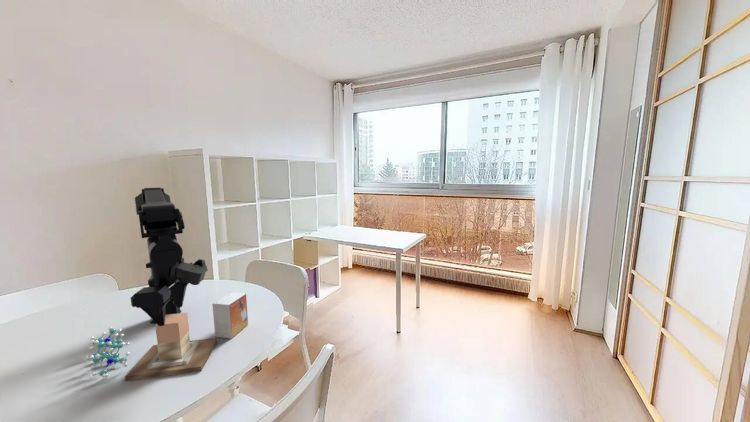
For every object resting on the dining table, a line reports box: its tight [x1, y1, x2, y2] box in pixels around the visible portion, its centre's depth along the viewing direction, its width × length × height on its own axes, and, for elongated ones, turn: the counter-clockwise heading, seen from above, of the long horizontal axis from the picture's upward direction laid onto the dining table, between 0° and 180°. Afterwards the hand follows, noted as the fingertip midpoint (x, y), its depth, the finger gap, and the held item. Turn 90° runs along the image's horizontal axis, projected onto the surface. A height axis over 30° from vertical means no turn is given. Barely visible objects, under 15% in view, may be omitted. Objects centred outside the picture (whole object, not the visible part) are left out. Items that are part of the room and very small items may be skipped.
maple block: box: [156, 330, 191, 362], centre depth 72 cm, size 5×5×5 cm
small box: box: [212, 292, 249, 339], centre depth 85 cm, size 8×6×10 cm
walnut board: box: [124, 337, 219, 382], centre depth 73 cm, size 16×12×2 cm
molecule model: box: [85, 326, 131, 378], centre depth 71 cm, size 8×18×7 cm, turn 46°
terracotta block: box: [154, 312, 190, 344], centre depth 72 cm, size 5×5×5 cm
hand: (171, 315), depth 71 cm, fingers open, 9 cm apart
